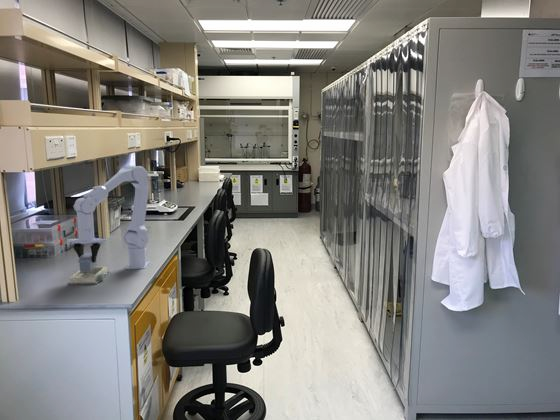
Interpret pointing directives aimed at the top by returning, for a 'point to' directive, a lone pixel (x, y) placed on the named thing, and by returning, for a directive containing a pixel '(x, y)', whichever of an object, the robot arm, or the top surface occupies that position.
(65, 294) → the top surface
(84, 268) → the block
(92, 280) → the frame
